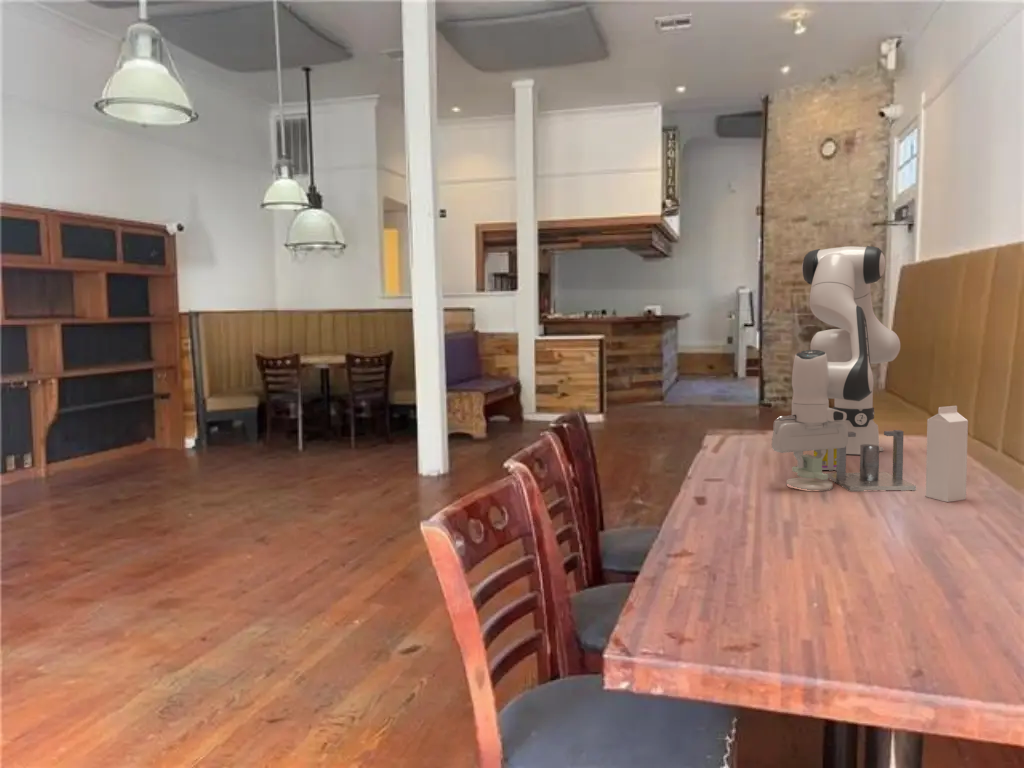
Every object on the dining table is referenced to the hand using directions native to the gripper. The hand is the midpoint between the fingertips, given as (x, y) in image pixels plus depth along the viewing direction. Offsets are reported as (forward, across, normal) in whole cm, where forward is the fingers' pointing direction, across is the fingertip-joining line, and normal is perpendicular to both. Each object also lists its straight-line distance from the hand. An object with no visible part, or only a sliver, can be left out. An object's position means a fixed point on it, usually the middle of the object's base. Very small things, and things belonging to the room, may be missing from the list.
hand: (809, 467), depth 192 cm
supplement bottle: (+5, +17, +17) cm, 25 cm away
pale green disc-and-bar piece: (+2, 0, 0) cm, 2 cm away
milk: (+5, +22, -21) cm, 31 cm away
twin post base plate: (+5, +16, -3) cm, 17 cm away
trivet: (+5, 0, 0) cm, 5 cm away
